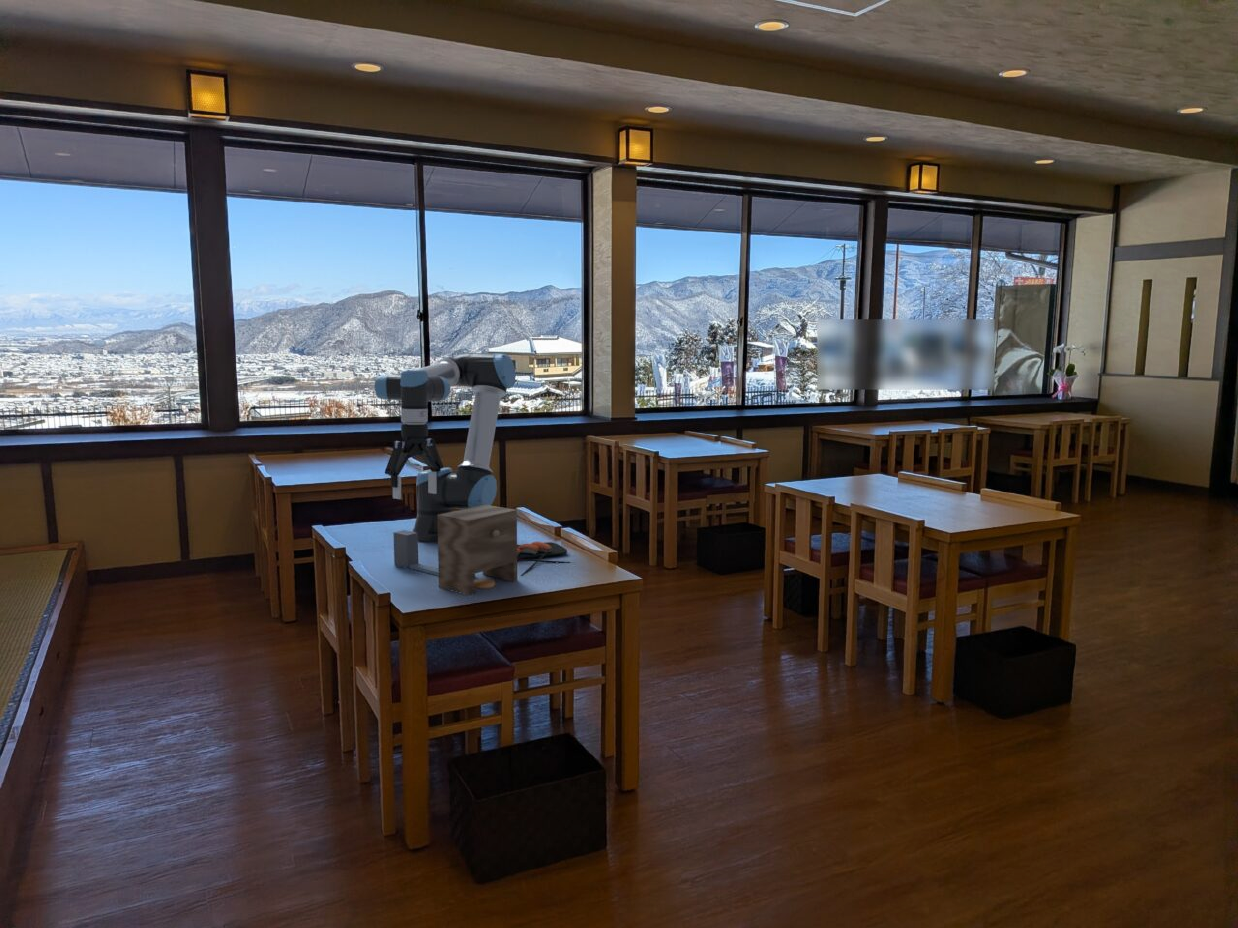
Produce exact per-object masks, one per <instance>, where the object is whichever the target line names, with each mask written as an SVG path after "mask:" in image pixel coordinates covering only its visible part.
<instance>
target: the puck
mask: <svg viewBox="0 0 1238 928" xmlns="http://www.w3.org/2000/svg"><path fill="white" fill-rule="evenodd" d="M495 585H496V581H495V580H494V579H490V578H482V579H481V578H480V579H476V580H475V579H474V589H489V588H493V587H495Z"/></svg>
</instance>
